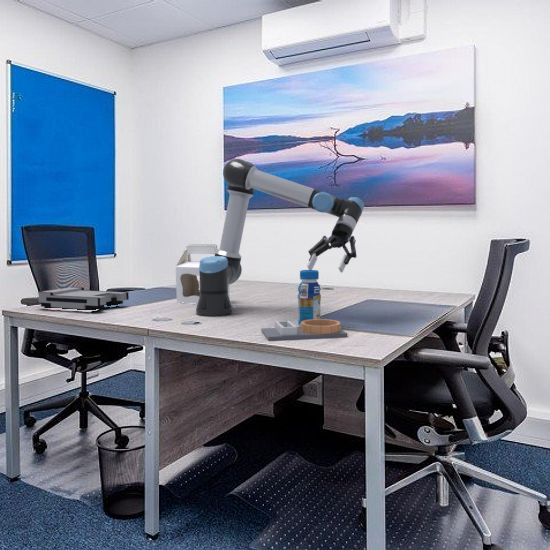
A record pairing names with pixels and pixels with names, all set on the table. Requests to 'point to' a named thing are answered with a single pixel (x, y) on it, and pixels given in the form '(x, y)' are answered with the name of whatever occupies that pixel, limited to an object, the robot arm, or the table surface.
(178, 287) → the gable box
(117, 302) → the office tray
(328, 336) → the socket board
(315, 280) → the beverage bottle
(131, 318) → the table surface
